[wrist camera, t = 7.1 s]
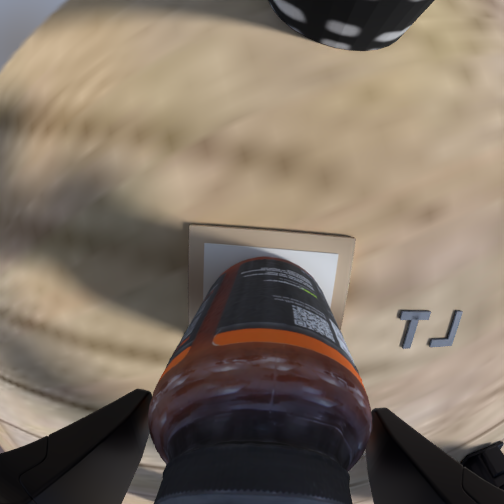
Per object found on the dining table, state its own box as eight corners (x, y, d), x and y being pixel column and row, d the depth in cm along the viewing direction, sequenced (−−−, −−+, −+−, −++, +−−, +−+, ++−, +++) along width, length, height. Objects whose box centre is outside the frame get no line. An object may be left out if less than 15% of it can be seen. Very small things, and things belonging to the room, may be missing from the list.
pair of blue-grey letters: (450, 344, 15) (451, 345, 15) (391, 347, 15) (392, 348, 15) (461, 310, 14) (462, 311, 14) (401, 310, 14) (402, 311, 14)
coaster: (328, 373, 16) (329, 378, 15) (191, 361, 16) (189, 366, 15) (353, 237, 14) (356, 239, 13) (191, 224, 14) (188, 225, 14)
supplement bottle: (214, 359, 15) (151, 547, 4) (201, 255, 14) (44, 422, 3) (323, 357, 15) (364, 554, 4) (326, 250, 14) (455, 434, 3)
